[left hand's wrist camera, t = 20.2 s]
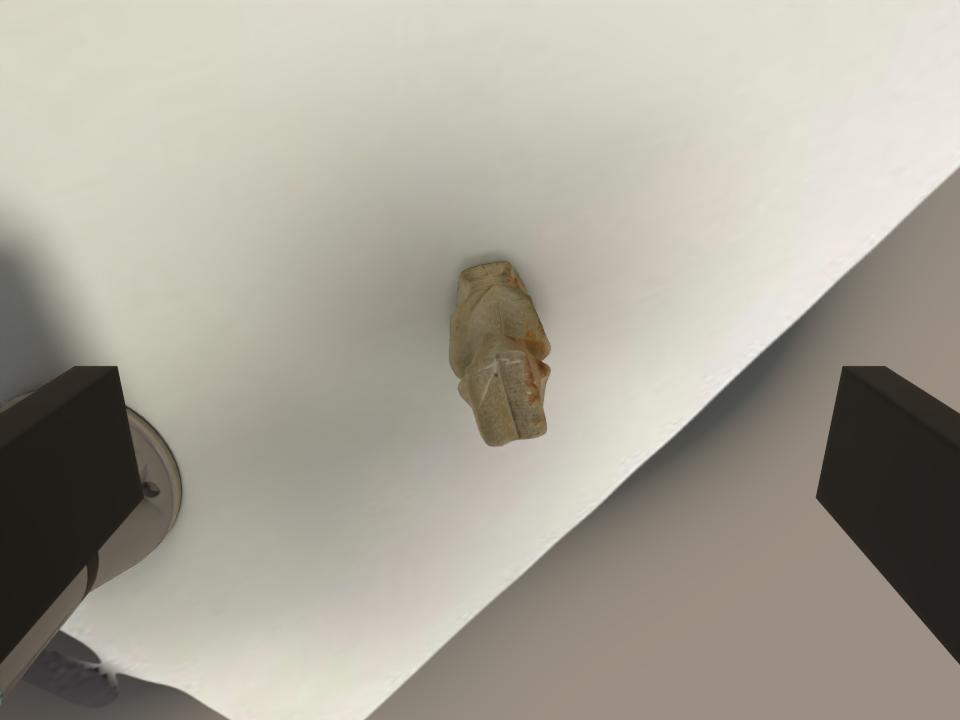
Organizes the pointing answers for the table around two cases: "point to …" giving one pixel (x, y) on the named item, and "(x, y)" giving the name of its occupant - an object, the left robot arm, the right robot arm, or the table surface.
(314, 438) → the table surface
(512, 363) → the sculpture
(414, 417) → the table surface
